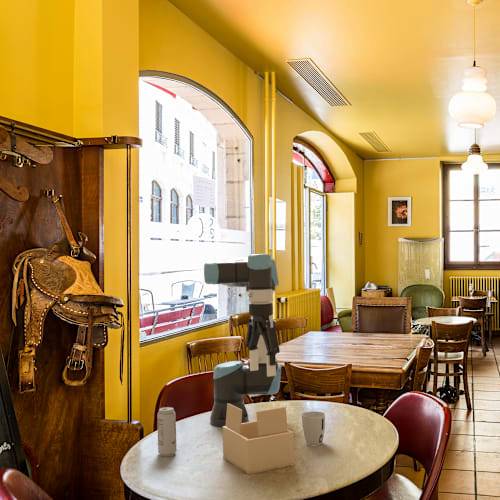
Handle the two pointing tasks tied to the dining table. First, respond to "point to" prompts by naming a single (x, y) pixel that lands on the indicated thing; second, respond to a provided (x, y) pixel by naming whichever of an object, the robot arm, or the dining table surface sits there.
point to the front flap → (271, 421)
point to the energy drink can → (166, 431)
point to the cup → (313, 427)
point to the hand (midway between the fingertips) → (262, 373)
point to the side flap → (234, 418)
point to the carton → (257, 448)
